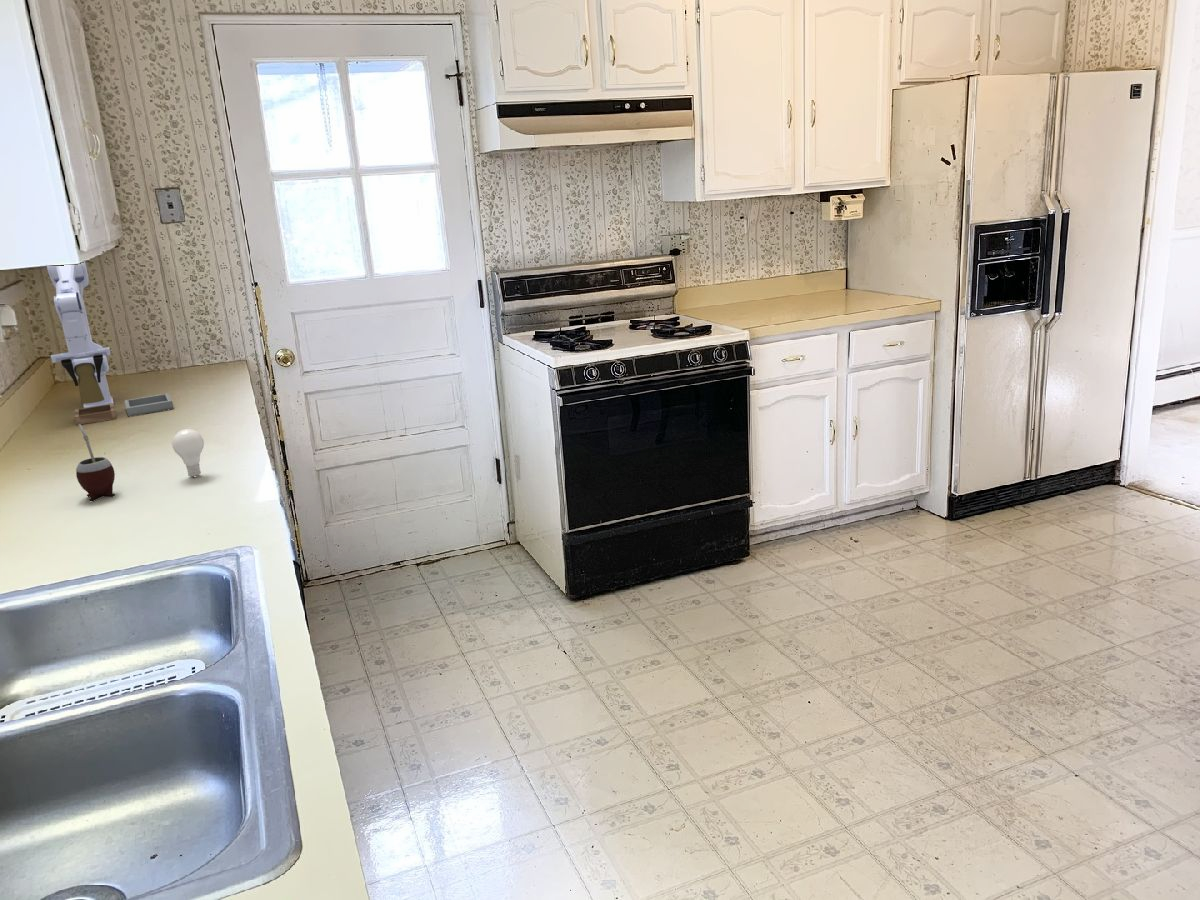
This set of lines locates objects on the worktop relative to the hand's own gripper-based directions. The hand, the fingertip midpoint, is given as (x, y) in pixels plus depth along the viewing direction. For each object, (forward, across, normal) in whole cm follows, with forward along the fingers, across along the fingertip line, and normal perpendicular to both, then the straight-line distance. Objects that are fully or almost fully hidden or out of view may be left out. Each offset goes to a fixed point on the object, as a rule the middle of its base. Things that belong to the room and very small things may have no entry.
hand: (88, 383), depth 257 cm
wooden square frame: (+10, 0, 0) cm, 10 cm away
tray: (+10, +14, +1) cm, 17 cm away
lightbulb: (+10, +18, -78) cm, 81 cm away
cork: (+5, 0, -1) cm, 5 cm away
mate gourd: (+10, -1, -78) cm, 79 cm away
